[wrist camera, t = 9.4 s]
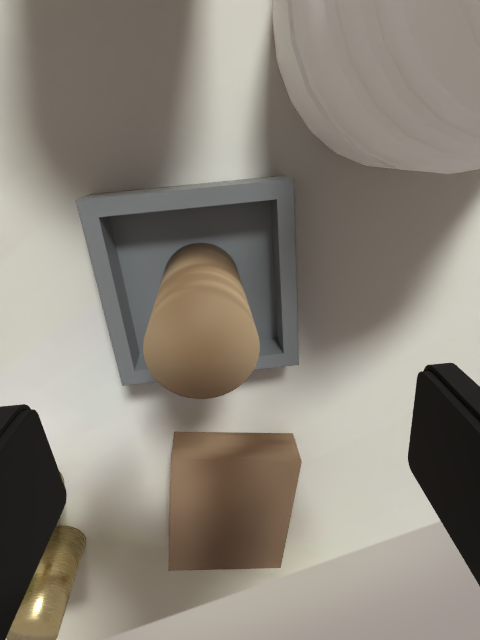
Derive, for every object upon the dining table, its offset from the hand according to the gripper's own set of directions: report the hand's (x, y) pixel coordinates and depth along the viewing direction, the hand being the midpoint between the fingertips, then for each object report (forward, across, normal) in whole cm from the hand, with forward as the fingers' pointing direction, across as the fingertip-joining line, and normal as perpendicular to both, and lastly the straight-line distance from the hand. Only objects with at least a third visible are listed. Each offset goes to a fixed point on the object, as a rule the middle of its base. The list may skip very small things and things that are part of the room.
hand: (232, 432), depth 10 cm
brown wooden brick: (+13, +2, +16) cm, 21 cm away
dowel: (+12, +1, 0) cm, 12 cm away
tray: (+13, +1, 0) cm, 13 cm away
